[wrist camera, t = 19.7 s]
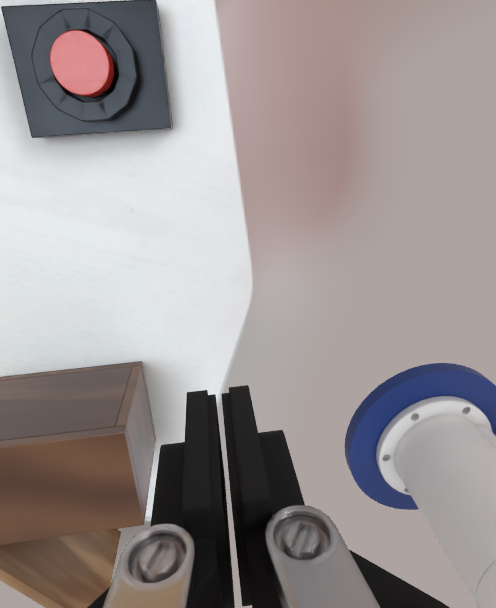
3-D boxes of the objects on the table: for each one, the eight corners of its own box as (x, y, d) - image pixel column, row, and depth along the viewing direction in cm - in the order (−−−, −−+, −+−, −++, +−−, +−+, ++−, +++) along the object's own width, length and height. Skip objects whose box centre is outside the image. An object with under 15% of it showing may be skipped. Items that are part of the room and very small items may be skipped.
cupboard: (156, 438, 44) (143, 525, 34) (18, 455, 43) (-36, 550, 33) (142, 361, 40) (124, 431, 31) (-8, 377, 39) (-76, 456, 30)
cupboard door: (80, 561, 48) (51, 665, 39) (-20, 493, 44) (-81, 593, 34) (120, 531, 47) (101, 630, 38) (23, 460, 43) (-27, 552, 33)
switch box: (158, 8, 31) (153, -10, 27) (173, 128, 34) (169, 127, 30) (14, 15, 30) (-12, -3, 26) (41, 137, 33) (22, 137, 29)
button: (109, 34, 28) (103, 28, 26) (118, 95, 29) (114, 93, 28) (52, 37, 28) (43, 31, 26) (64, 99, 29) (56, 96, 27)
